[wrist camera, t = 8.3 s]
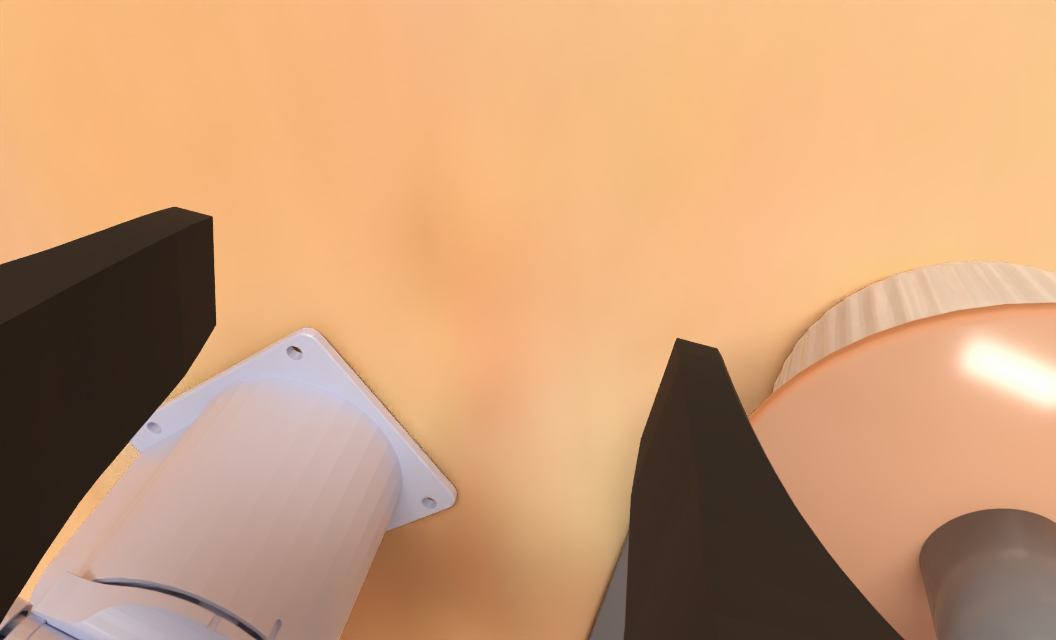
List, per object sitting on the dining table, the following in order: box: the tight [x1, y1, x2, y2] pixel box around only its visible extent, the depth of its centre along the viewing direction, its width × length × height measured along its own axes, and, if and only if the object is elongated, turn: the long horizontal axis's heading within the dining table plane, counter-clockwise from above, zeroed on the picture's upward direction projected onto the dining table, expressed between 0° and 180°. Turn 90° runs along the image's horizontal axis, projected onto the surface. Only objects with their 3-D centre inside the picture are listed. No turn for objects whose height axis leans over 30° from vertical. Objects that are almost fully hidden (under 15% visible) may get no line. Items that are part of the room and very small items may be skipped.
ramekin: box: [772, 260, 1056, 393], centre depth 22 cm, size 11×11×5 cm
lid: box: [748, 303, 1056, 640], centre depth 18 cm, size 13×13×5 cm
